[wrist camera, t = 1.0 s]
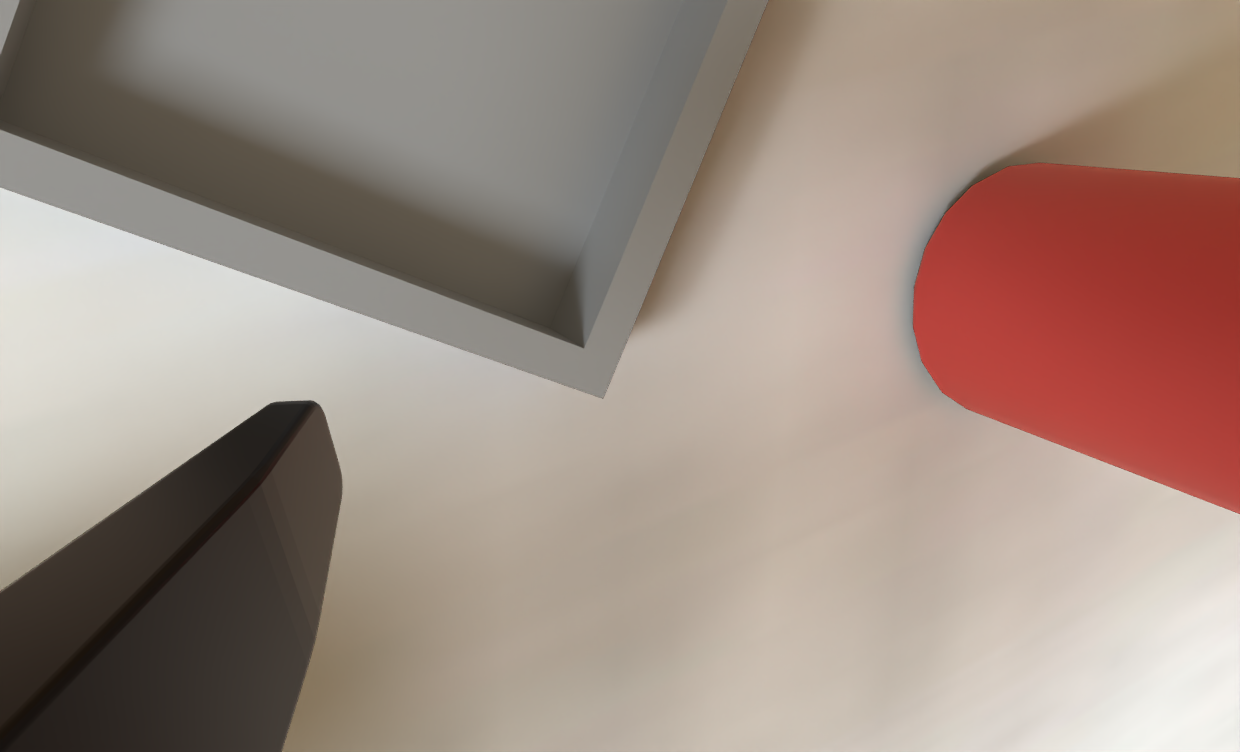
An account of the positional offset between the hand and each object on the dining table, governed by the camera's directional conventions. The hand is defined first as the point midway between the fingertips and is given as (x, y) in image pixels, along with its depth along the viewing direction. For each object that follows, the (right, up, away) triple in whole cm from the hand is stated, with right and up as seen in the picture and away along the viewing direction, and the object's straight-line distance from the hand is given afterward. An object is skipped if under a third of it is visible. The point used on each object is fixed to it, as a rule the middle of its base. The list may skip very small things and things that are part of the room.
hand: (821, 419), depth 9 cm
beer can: (+8, +3, +18) cm, 20 cm away
